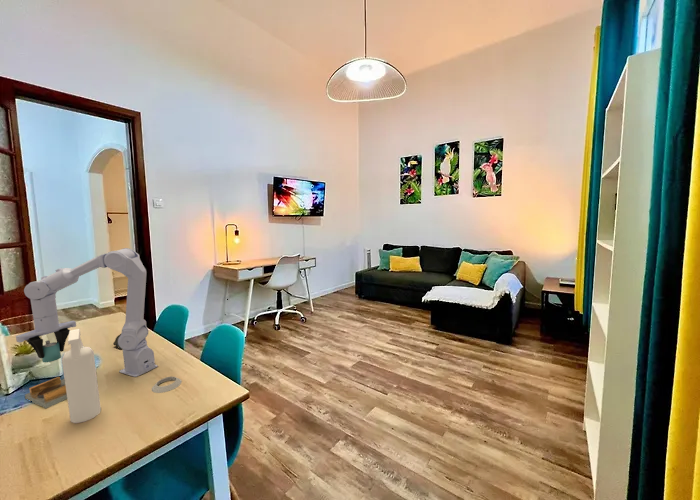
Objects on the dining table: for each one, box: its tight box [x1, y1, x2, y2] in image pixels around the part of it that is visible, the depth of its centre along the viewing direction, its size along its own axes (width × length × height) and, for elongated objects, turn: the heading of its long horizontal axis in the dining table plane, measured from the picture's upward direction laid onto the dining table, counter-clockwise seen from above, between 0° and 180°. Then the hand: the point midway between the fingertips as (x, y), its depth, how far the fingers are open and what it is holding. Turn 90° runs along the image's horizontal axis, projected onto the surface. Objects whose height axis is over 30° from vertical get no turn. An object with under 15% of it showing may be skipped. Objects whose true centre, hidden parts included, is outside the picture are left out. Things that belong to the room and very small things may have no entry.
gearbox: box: [24, 376, 67, 409], centre depth 94 cm, size 12×11×4 cm
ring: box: [151, 376, 183, 394], centre depth 98 cm, size 8×8×2 cm
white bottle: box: [61, 328, 102, 424], centre depth 83 cm, size 7×12×25 cm, turn 38°
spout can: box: [41, 340, 62, 363], centre depth 101 cm, size 4×4×6 cm
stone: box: [112, 333, 123, 350], centre depth 131 cm, size 7×13×5 cm, turn 27°
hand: (51, 354), depth 101 cm, fingers closed on spout can, 4 cm apart
